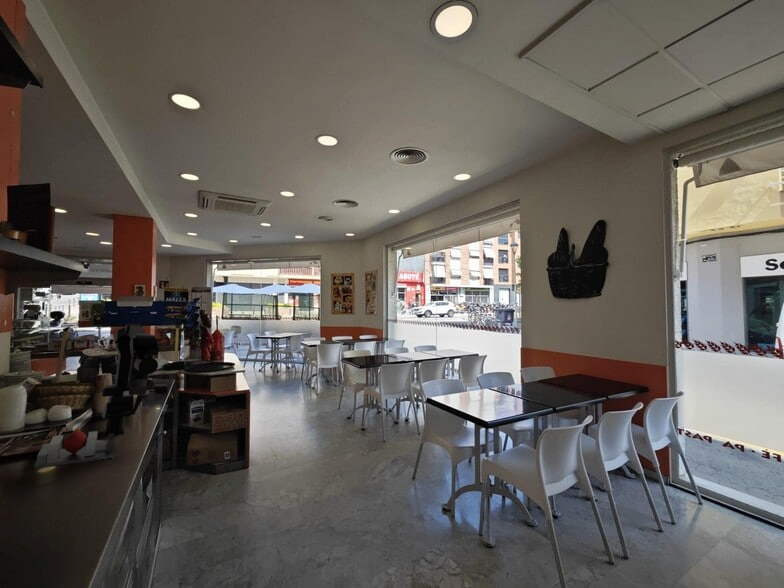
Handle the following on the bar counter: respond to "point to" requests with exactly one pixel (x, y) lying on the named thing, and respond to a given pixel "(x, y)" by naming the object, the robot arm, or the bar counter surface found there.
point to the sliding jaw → (98, 443)
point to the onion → (75, 441)
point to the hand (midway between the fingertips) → (132, 414)
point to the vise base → (66, 454)
